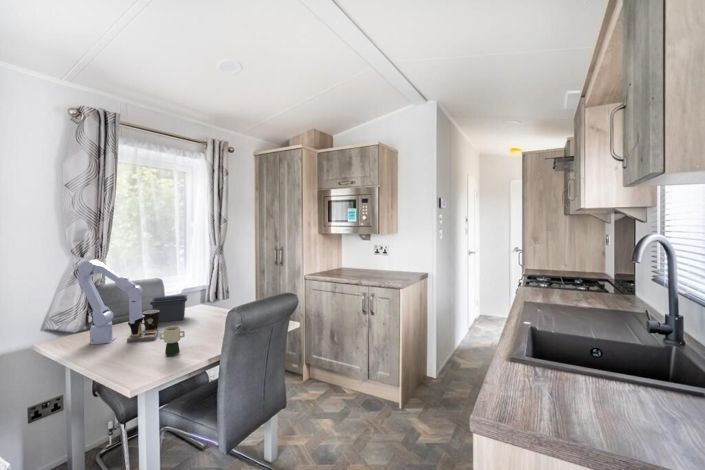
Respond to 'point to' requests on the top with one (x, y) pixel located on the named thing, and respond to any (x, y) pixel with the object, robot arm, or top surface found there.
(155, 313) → the coffee mug
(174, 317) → the storage bin
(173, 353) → the beige trophy cup
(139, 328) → the brass peg
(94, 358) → the top surface
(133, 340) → the socket
